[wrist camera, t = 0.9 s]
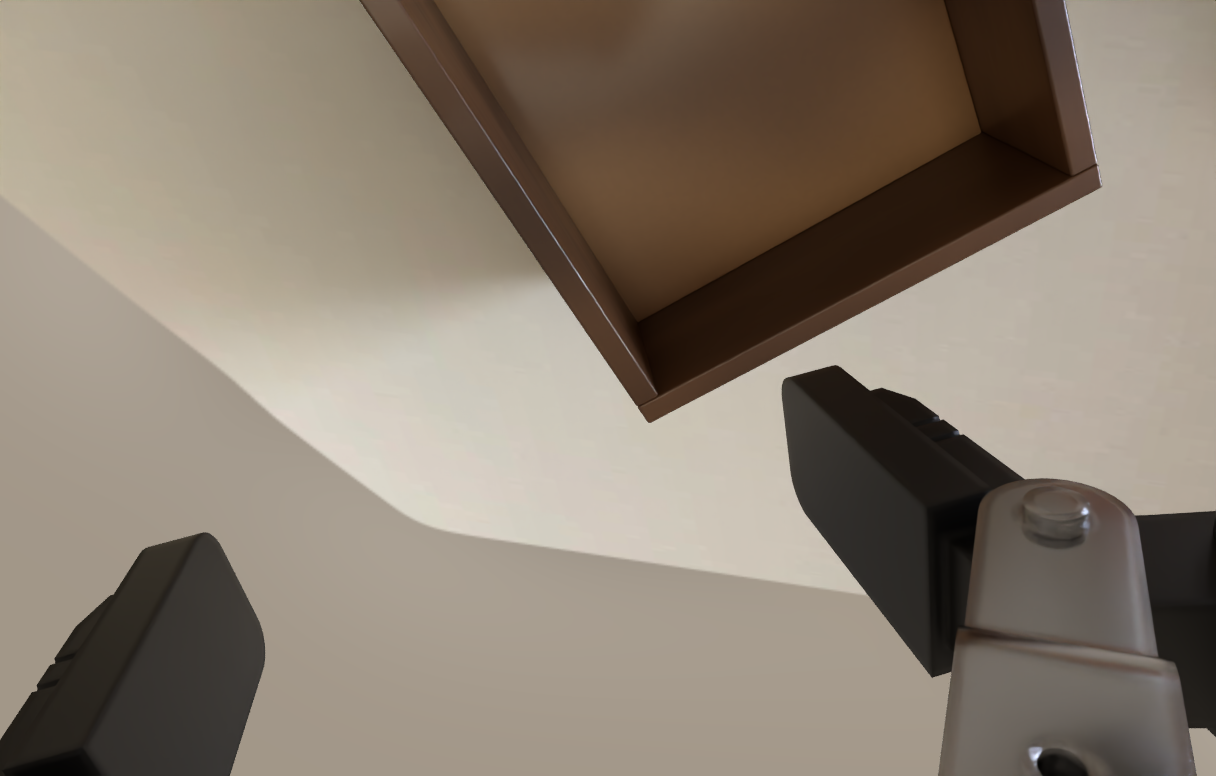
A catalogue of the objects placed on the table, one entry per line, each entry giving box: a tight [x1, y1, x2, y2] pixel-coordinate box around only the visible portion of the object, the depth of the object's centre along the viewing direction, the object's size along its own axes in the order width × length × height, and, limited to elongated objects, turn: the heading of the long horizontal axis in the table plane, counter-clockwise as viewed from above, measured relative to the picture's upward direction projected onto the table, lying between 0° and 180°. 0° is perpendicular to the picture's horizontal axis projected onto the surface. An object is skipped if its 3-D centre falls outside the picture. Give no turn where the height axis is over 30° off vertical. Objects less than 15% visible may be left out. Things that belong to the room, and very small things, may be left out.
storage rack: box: [359, 0, 1102, 423], centre depth 25 cm, size 16×15×13 cm
